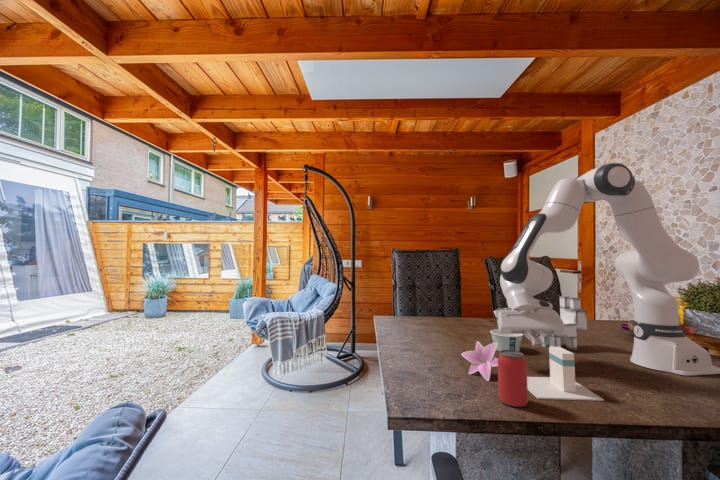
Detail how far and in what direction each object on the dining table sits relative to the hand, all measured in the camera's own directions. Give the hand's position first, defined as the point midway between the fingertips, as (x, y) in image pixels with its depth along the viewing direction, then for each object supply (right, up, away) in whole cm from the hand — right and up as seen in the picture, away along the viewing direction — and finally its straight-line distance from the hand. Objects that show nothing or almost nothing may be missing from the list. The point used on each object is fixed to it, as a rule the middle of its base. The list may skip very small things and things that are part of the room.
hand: (538, 344), depth 97 cm
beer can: (-18, -8, -20) cm, 28 cm away
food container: (+2, -10, +24) cm, 26 cm away
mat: (-3, -8, -12) cm, 15 cm away
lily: (-18, -9, -2) cm, 21 cm away
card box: (-1, -7, -13) cm, 15 cm away
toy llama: (+25, -10, +27) cm, 38 cm away
